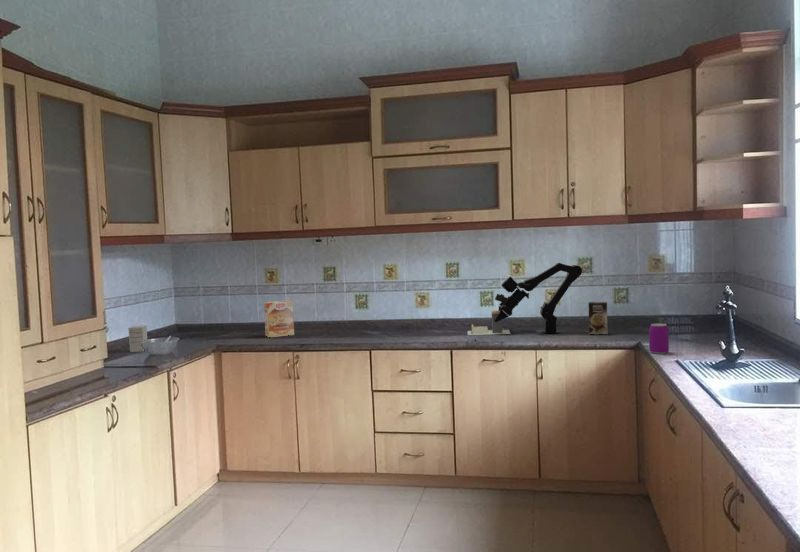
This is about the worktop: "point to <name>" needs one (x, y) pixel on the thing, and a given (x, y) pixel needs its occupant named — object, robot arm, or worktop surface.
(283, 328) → the coffeecake box
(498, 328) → the plug
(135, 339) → the supplement box
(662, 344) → the beverage can
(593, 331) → the coffee box
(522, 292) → the robot arm
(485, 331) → the board
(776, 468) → the worktop surface
